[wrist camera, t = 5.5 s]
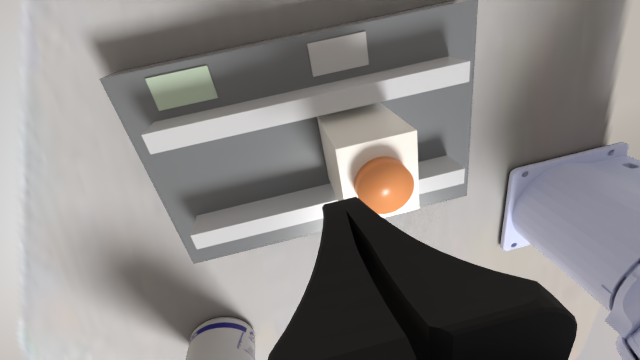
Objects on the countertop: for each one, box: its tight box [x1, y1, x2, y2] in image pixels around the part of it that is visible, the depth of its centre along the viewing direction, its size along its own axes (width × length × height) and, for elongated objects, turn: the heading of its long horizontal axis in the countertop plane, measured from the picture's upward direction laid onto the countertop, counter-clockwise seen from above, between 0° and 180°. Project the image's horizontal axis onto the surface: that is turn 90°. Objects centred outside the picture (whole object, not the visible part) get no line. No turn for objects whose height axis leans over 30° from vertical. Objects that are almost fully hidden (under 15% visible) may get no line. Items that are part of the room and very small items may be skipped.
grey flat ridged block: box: [100, 0, 478, 264], centre depth 18 cm, size 19×12×4 cm, turn 101°
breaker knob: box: [317, 102, 419, 218], centre depth 16 cm, size 4×4×6 cm
